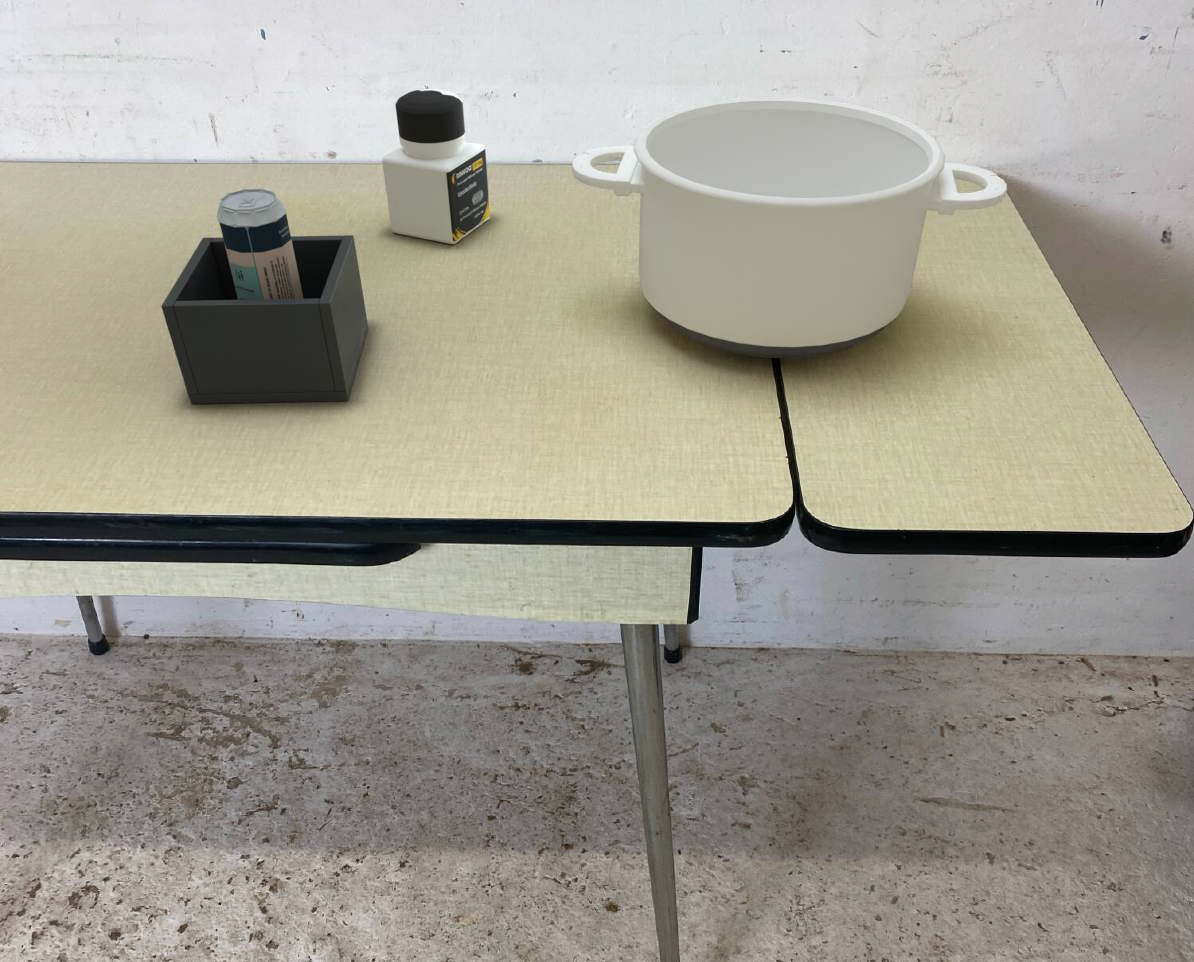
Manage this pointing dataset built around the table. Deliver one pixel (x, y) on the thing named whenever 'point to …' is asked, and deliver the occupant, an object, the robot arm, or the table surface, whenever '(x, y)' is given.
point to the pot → (783, 218)
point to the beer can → (259, 245)
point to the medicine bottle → (435, 170)
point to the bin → (269, 327)
